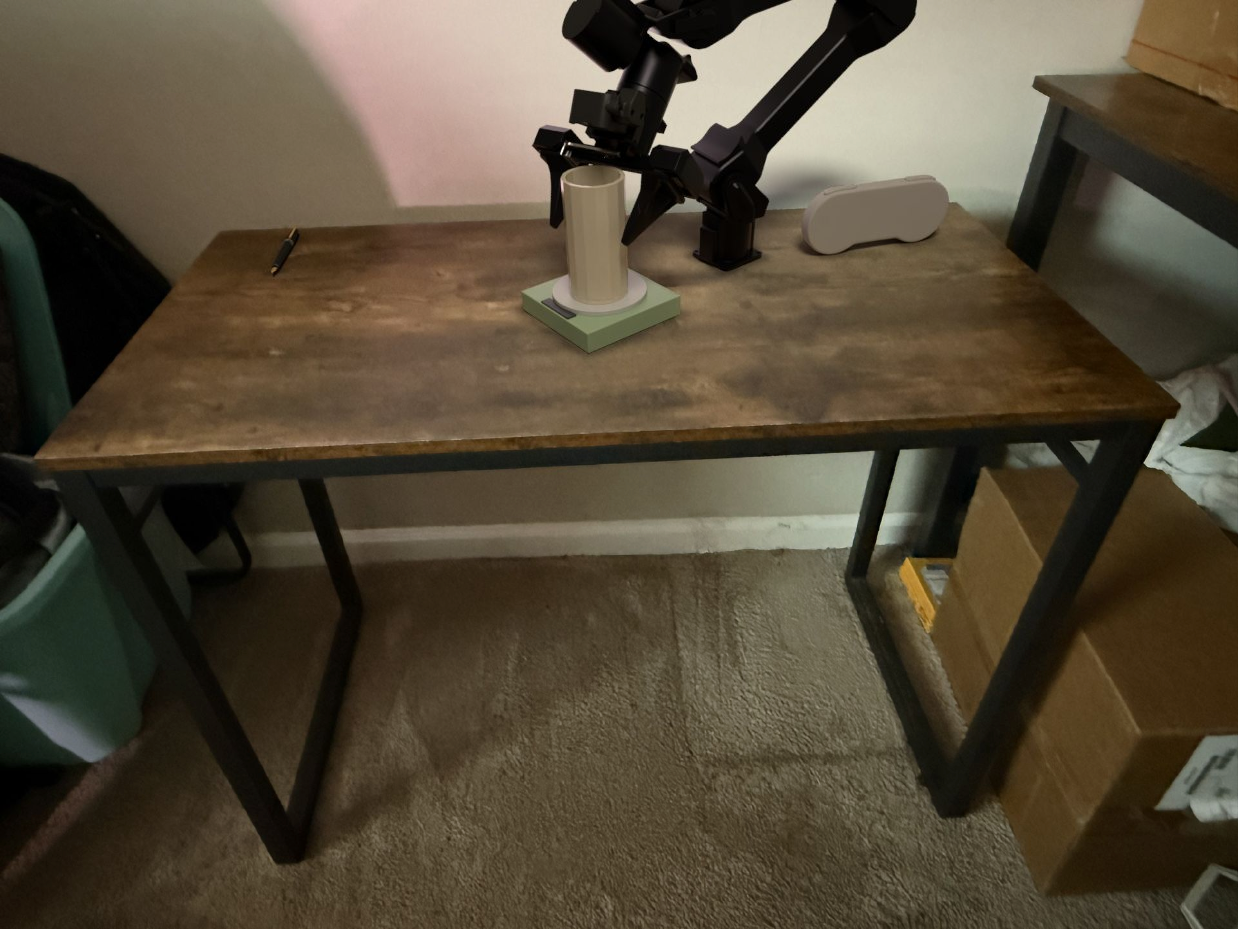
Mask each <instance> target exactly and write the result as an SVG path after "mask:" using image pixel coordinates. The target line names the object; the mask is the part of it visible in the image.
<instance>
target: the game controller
mask: <svg viewBox="0 0 1238 929" xmlns="http://www.w3.org/2000/svg"><path fill="white" fill-rule="evenodd" d="M949 204H950V197H949V192H948V190H947V188H946V187H945V186H944V184H942V183H941V182H940V181H938V180H936V177H935V176H932V175H930V174H917V175H916V174H915V175H909V176H908V175H907V176H905V177H900V178H893V179H885V180H878V181H870V182H862V183H856V184H855V183H850V184H843V185H837V186H836V185H835V186H832V187H829V188H826V189H825V190H823V191H821V192H820V193H818V194H817V195H816V196H814V198H813V199H812V200H811V201H810V202H809V203H808V205H807V206H806V208H805V210H804V212H803V215H802V218H801V222H800V223H801V224H800V230H801V234H802V237H803V239H804V241H805V242H806V244H808V246H810V247H811V248H812V249H813V250H814V251H816V252H817V253H819V254H822V255H835V254H836V255H837V254H839V253H842V252H844V251H846V250H847V249H848V248H850V247H852V246H853V245H857V244H858V245H859V244H863V243H870V242H877V241H884V240H889V239H890V240H891V239H897V240H899V241H901V242H905V243H917V242H919V241H922V240H924V239H926V238H928V237H929V236H931V235H932V234H934V232H936V231H937V230H938V228H939V227H940V226H941V224H942V223H943V221H944V220H945V218H946V216H947V213H948V210H949Z"/></svg>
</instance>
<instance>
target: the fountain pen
mask: <svg viewBox="0 0 1238 929" xmlns="http://www.w3.org/2000/svg"><path fill="white" fill-rule="evenodd" d="M298 235H299V229H298V228H297V226H294V227H293V228H292V230H290V231H289V233H288V234H287V236H286V237H285V239H284V241H283V243H282V246H281V247H280V249H279V252H278V253H277V255H276V258H275V259H274V262H273V264H272V265H271V270H270V272H271V274H273V273H274V272H278V271H279V268H280V267H281V266H282V264H283V262H284V261H285V259H286V258H287V256H288V254H289V252H290V251H291V249H292V248H293V247H294V245H295V242H296V241H297V238H298Z"/></svg>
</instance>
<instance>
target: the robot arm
mask: <svg viewBox="0 0 1238 929" xmlns="http://www.w3.org/2000/svg"><path fill="white" fill-rule="evenodd" d="M791 1H792V0H641V1H638V2H636V3H634V2H633V1H632V0H574V1H572V3H571V4H570V5H569V7H568V9H567V12H566V13H565V16H564V18H563V21H562V26H561V34H562V37H563V38H564V39H565V40H566V41H567V42H569V43H570V44H571V45H572V46H573V47H574V48H575V49H577V50H578V51H579V52H581V53H582V54H583V55H584V56H585V57H586V58H588V59H589V60H590V61H591V62H592V63H594V64H595V65H596V66H597V67H598V68H599V69H601V70H602V71H603V72H605V73H613V72H615V71H616V70H619V71H622V73H621V75H620V78H619V81H618V82H617V86H616V87H615V89H609V88H608V89H607V90H606V91H605V92H601V91H594V90H587V89H581V88H574V89H573V95H572V100H571V105H570V112H569V118H568V123H569V124H570V125H580V126H583V127H585V131H584V133H585V134H586V136H587V137H588V138H589V139H591V140H594V144H588V143H584V142H583V141H582V140H581V138H580V137H579V136H578V135H577V134H576V132H575V131H574V130H573V129H572V128H567V127H564V126H563V127H562V126H557V125H552V124H551V125H550V124H544V125H543V126H541V127H540V126H539V128H538V129H537V131H536V133H535V136H534V138H533V140H532V144H531V147H532V148H533V149H534V150H535V151H536V152H537V153H538V154H539V157H540V159H541V160H542V161H544V163H545V164H546V165H547V167H548V171H549V179H550V180H549V181H550V201H549V202H550V204H549V226H550V227H551V228H552V229H554V230H557V229H559V227H560V225H561V224H562V222H564V214H563V201H562V189H561V176H562V174H563V173H564V172H566V171H568V170H569V169H573V168H576V167H580V166H587V165H606V166H612V167H616V168H618V169H621V170H622V171H623V172H627V173H632V174H638V175H640V186H639V187H640V188H639V192H638V194H637V196H636V199H635V202H634V204H633V207H632V209H631V212H630V214H629V216H628V219H627V220H626V223H627V224H626V226H625V229H624V232H623V236H622V239H621V243H622V244H623V245H624V246H627V247H629V246H630V245H631V244H632V243H633V242H634V241H635V240H637V239H638V237H640V236H641V235H642V233H644V232H645V231H646V230H647V229H648V228H649V227H650V226H651V225H652V224H653V223H654V222H655V221H657V220H658V219H659V218H661V216H663V215H664V214H666V213H667V212H669V211H670V210H671V209H672V208H673V207H674V206H676V205H684V204H685V202H686V198H687V199H691V200H695V202H696V203H699V204H701V205H702V206H705V208H706V210H702V212H701V213H702V214H701V215H702V216H701V225H700V226H699V248H696V249H693V250H692V256H694V257H696V258H698V259H700V260H702V261H704V262H706V263H708V264H711V265H712V266H714V267H717V268H719V269H721V270H723V271H730V270H733V269H735V268H737V267H740V266H742V265H745V264H747V263H749V262H752V261H754V260H757V259H760V258H761V257H762V256H763V252H762V251H760V250H758V249H756V248H754V243H755V242H754V241H755V240H754V239H755V228H756V220H757V219H761V218H764V217H765V215H766V212H767V209H768V207H769V203H770V198H768V197H767V195H766V194H764V192H762V191H761V190H760V188H759V187H758V186H757V183H758V182H759V181H760V180H761V178H762V175H763V172H764V170H765V169H764V168H765V166H766V162H767V158H768V155H769V153H770V152H771V150H773V149H774V147H776V145H778V143H780V141H781V140H782V139H784V137H785V136H786V135H787V134H788V132H790V131H791V129H792V128H793V127H794V126H795V125H796V124H797V123H798V122H799V121H800V120H801V119H802V118H803V117H804V116H805V115H806V114H807V113H808V111H810V109H812V107H813V106H814V105H815V104H816V103H817V102H818V101H819V100H820V98H821V97H822V96H824V94H825V93H826V92H827V91H828V90H829V89H830V88H831V87H832V86H833V85H834V84H835V83H836V81H838V80H839V79H840V77H841V76H842V75H843V74H844V73H845V72H846V71H847V70H848V69H849V68H850V67H851V66H852V65H853V64H854V63H855V62H856V61H858V60H859V59H861V58H863V57H865V56H867V55H869V54H872V53H874V52H877V51H879V50H880V49H883V48H885V47H886V46H887V45H889V44H890V43H891V42H893V41H894V40H895V39H896V38H897V37H899V36H900V35H901V34H902V33H904V32H905V31H906V30H907V29H908V28H909V27H910V25H911V24H912V23H913V21H914V19H915V18H916V15H917V12H916V11H917V7H918V0H834V1H835V2H834V3H833V4H832V8H831V11H830V15H829V17H828V22H827V25H826V28H825V29H824V31H823V32H822V33H821V34H820V35H819V37H818V38H817V39H815V41H814V42H813V43H812V44H811V45H810V46H809V47H808V48H807V50H805V51H804V52H803V54H801V56H800V57H799V58H798V59H797V60H796V61H795V62H794V63H793V64H792V65H791V66H790V68H789V69H787V71H786V72H784V74H783V75H782V76H781V77H780V78H779V79H778V80H777V81H776V83H775V84H774V85H773V86H772V87H771V88H770V89H769V90H768V91H767V92H766V93H765V95H763V96H762V98H761V99H760V100H759V101H758V102H757V103H756V104H755V105H754V106H753V107H752V109H751V110H750V111H749V112H748V113H747V114H746V115H745V116H744V117H743V118H742V119H741V120H740V121H739V122H737V124H735V125H732V126H730V127H728V128H727V127H725V126H724V125H722V124H720V123H718V122H715V123H713V124H712V125H711V126H710V127H708V129H707V130H706V132H705V133H704V135H703V136H702V137H701V138H700V140H698V141H697V142H695V143H694V144H692V145H690V150H692V151H691V152H690V150H689V149H688V148H682V147H677V146H670V145H666V144H660V143H658V144H657V145H654V142H655V139H656V137H657V135H658V134H662V135H664V134H665V132H666V130H667V127H668V124H667V122H666V121H665V120H664V116H665V114H666V112H667V109H668V106H669V104H670V102H671V98H672V96H673V94H674V91H675V89H676V86H677V85H681V84H682V85H683V84H686V83H692V82H696V81H697V80H698V79H699V78H698V73H697V69H696V67H695V65H694V64H693V61H692V55H691V54H690V53H687V54H681V53H680V52H679V51H678V50H677V49H675V47H673V46H672V45H671V44H670V43H669V42H667V41H665V40H660V41H658V40H657V39H655V38H654V37H653V36H652V35H651V34H650V33H653V34H655V35H658V36H660V37H663V38H665V39H667V40H670V41H672V42H675V43H678V44H680V45H683V46H686V47H688V48H691V49H693V50H699V51H701V50H704V49H708V48H710V47H712V46H713V45H715V44H716V43H718V42H720V41H722V40H723V39H725V38H726V37H728V36H730V35H732V34H733V33H734V32H735V31H736V29H738V27H739V26H740V25H741V24H742V22H744V21H745V20H747V19H749V18H750V17H752V16H755V15H757V14H759V13H762V12H764V11H767V10H769V9H772V8H776V7H778V6H781V5H783V4H786V3H788V2H791ZM648 32H650V33H648ZM653 145H654V146H653Z"/></svg>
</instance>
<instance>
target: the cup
mask: <svg viewBox="0 0 1238 929" xmlns="http://www.w3.org/2000/svg"><path fill="white" fill-rule="evenodd" d="M561 189H562V201H563V214H564V219H563V224H564V237H565V250H566V261H567V262H566V263H567V274H568V277H569V288H570V294H571V296H572V297H573V298H574V299H575V300H576V301H578V302H581V303H584V304H590V305H604V304H610V303H614V302H616V301H619V300H621V299H622V298H624V297H625V296H626V294H627V292H628V268H629V263H628V261H629V260H628V259H629V258H628V246H624V245H623V244H622V243H621V239H622V236H623V232H624V229H625V226H626V224H627V195H626V194H627V192H626V173H625V171H622V170H621V169H618V168H616V167H612V166H606V165H591V164H589V165H587V166H580V167H576V168H573V169H569V170H568V171H566V172H564V173H563V174H562V176H561Z"/></svg>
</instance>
